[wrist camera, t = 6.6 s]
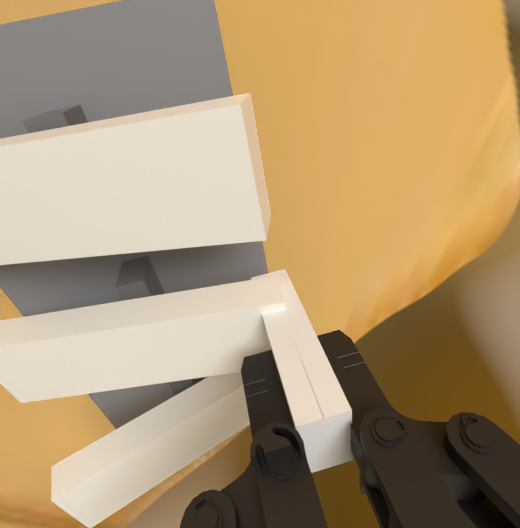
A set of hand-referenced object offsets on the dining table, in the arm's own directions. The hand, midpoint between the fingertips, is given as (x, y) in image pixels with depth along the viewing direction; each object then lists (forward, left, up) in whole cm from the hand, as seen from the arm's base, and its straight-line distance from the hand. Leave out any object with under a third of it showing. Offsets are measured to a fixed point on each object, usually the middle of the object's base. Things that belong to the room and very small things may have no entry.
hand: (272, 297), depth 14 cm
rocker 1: (-6, +7, +1) cm, 9 cm away
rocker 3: (-6, -6, +1) cm, 9 cm away
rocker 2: (-6, 0, +1) cm, 6 cm away
